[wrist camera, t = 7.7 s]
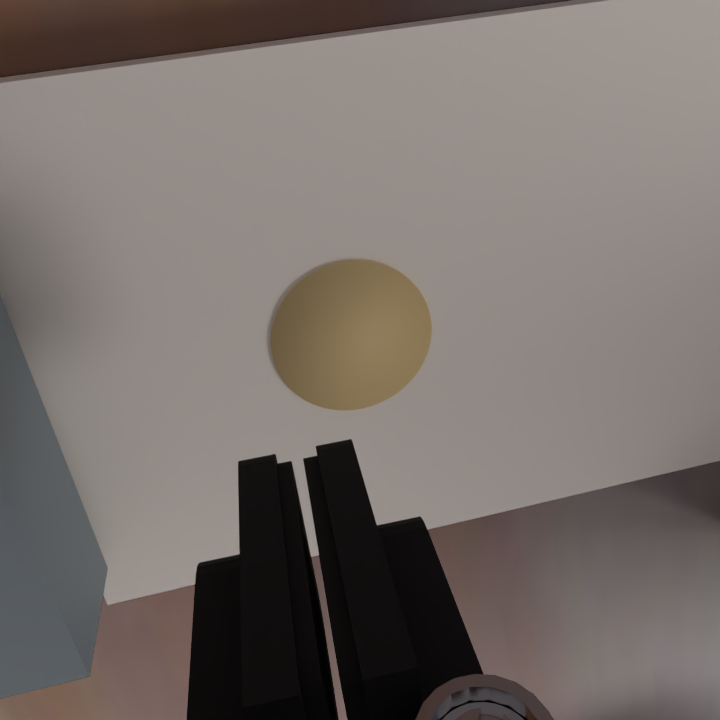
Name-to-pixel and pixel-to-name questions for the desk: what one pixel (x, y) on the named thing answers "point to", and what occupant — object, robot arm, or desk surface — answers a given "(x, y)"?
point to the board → (370, 267)
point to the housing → (41, 542)
